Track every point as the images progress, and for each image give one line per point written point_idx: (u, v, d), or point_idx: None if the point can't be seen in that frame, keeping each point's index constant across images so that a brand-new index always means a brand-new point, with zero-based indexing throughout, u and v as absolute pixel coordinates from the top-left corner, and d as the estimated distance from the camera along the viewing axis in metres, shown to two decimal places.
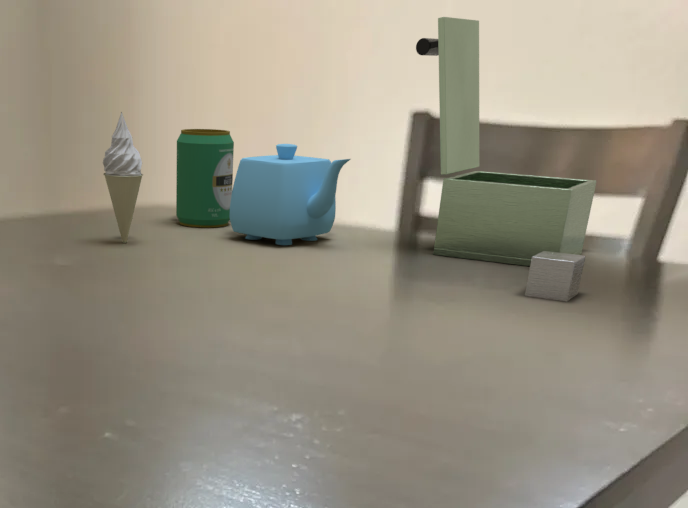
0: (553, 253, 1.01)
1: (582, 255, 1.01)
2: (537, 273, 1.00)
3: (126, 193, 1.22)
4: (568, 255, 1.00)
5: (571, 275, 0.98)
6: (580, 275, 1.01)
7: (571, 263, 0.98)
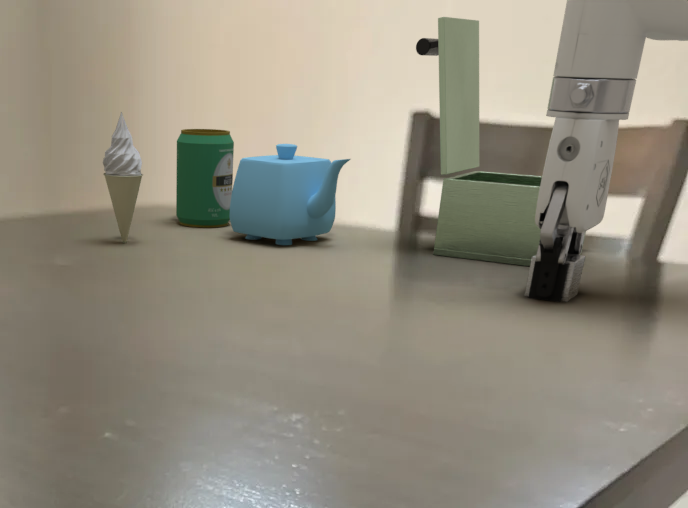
0: None
1: (582, 255, 1.01)
2: None
3: (126, 193, 1.22)
4: (568, 255, 1.00)
5: (571, 275, 0.98)
6: (580, 275, 1.01)
7: (571, 263, 0.98)
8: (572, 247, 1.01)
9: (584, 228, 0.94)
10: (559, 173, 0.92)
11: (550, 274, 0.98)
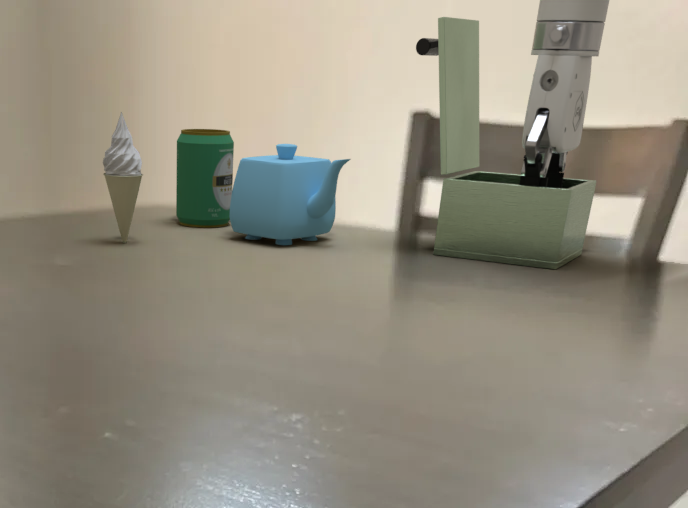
0: None
1: None
2: None
3: (126, 193, 1.22)
4: None
5: None
6: None
7: None
8: (557, 165, 1.21)
9: (563, 148, 1.13)
10: (541, 101, 1.11)
11: None
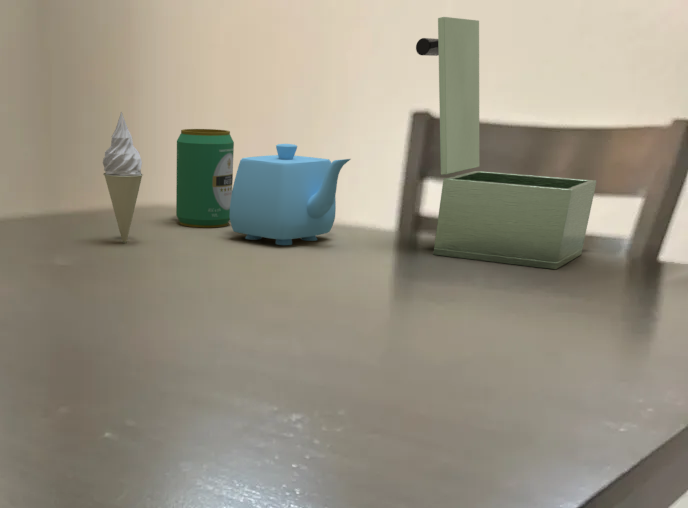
0: None
1: None
2: None
3: (126, 193, 1.22)
4: None
5: None
6: None
7: None
8: None
9: None
10: None
11: None
